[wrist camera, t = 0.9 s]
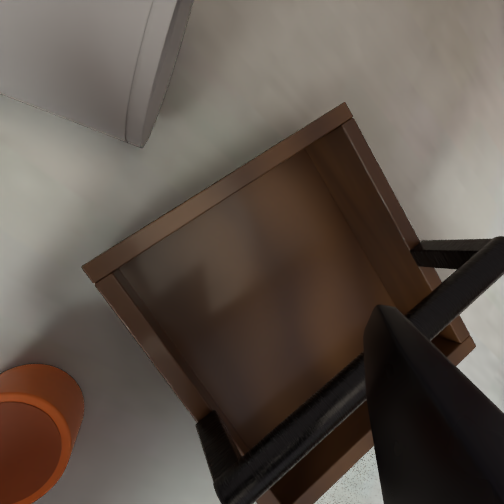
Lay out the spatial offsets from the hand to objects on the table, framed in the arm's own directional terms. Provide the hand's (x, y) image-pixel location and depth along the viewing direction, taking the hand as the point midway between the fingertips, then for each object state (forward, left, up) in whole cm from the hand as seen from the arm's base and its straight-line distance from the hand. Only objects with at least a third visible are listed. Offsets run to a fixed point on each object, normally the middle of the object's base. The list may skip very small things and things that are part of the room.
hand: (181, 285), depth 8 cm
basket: (+4, -6, -11) cm, 13 cm away
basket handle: (+4, -7, -6) cm, 10 cm away
